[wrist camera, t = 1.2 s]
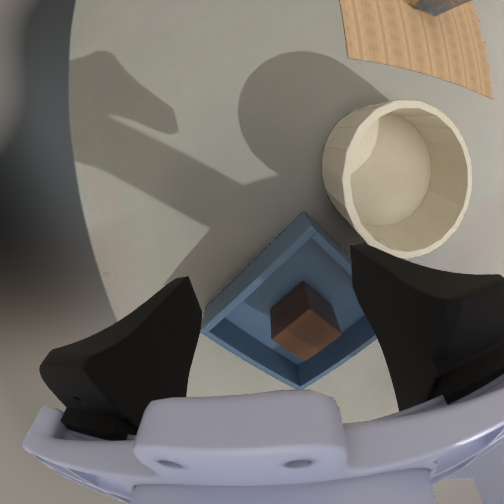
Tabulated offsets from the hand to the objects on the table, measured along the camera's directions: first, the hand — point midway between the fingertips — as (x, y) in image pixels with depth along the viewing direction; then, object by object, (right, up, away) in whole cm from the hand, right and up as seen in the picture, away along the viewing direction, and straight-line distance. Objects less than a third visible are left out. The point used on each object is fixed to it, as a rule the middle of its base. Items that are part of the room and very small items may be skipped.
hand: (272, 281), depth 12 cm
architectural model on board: (+14, +27, -2) cm, 31 cm away
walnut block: (+3, -4, +12) cm, 13 cm away
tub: (+4, -3, +12) cm, 13 cm away
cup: (+9, +8, +7) cm, 14 cm away
